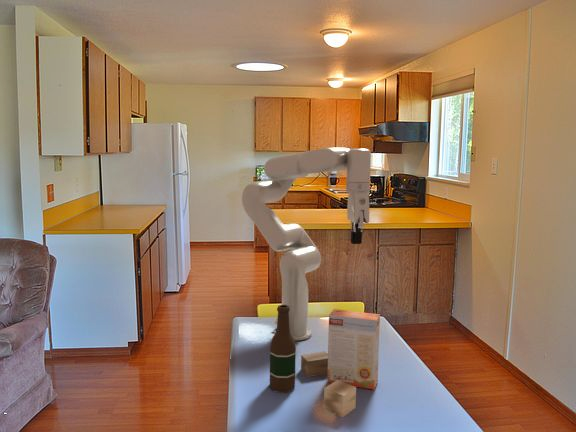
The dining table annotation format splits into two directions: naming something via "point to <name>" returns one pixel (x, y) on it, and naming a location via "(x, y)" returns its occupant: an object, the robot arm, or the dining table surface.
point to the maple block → (339, 398)
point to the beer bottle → (282, 354)
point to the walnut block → (314, 363)
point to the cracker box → (353, 348)
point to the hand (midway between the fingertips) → (356, 243)
